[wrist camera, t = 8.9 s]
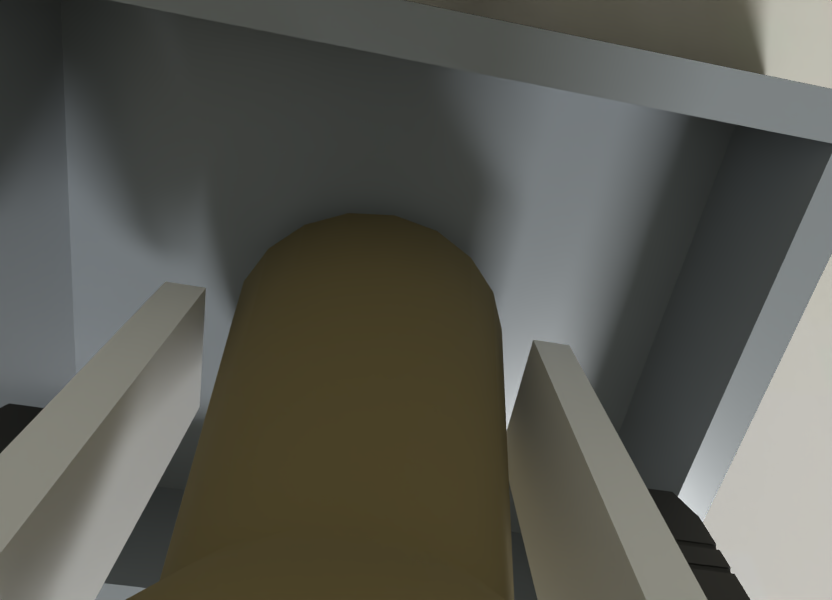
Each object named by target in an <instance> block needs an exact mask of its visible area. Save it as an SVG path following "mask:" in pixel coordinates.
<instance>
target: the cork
mask: <svg viewBox="0 0 832 600" xmlns="http://www.w3.org/2000/svg"><path fill="white" fill-rule="evenodd" d="M126 600H514V583H513V561H512V539H511V517H510V495H509V473H508V451H507V429H506V407H505V385H504V363H503V341H502V328H501V323H500V319H499V315H498V310H497V306H496V302H495V297H494V293H493V291H492V289H491V288H490V286H489V285H488V283H487V282H486V280H485V279H484V277H483V275H482V274H481V272H480V271H479V269H478V268H477V266H476V265H475V263H474V262H473V260H472V258H471V257H469V256H468V255H467V254H466V253H464V252H463V251H462V250H461V249H459V248H458V247H457V246H455V245H454V244H453V243H452V242H450V241H449V240H448V239H447V238H445V237H444V236H443V235H442V234H440V233H439V232H438V231H436V230H433V229H430V228H428V227H425V226H422V225H419V224H417V223H414V222H411V221H409V220H406V219H403V218H401V217H398V216H395V215H378V214H358V213H347V214H343V215H339V216H336V217H332V218H328V219H324V220H321V221H317V222H313V223H309V224H306V225H304V226H302V227H301V228H299V229H298V230H296V231H294V232H293V233H291V234H290V235H288V236H287V237H285V238H284V239H282V240H281V241H279V242H278V243H276V244H275V245H273V246H272V247H270V248H269V249H268V250H267V251H266V253H265V254H264V255H263V257H262V258H261V259H260V261H259V262H258V263H257V265H256V266H255V267H254V269H253V270H252V271H251V273H250V274H249V275H248V276H247V278H246V279H245V280H244V283H243V286H242V289H241V293H240V296H239V300H238V303H237V306H236V310H235V313H234V316H233V320H232V323H231V327H230V330H229V334H228V338H227V341H226V345H225V348H224V352H223V355H222V359H221V363H220V366H219V370H218V373H217V377H216V380H215V384H214V388H213V391H212V395H211V398H210V402H209V405H208V409H207V413H206V416H205V420H204V423H203V427H202V430H201V434H200V438H199V441H198V445H197V448H196V452H195V455H194V459H193V462H192V466H191V470H190V473H189V477H188V480H187V484H186V487H185V491H184V495H183V498H182V502H181V505H180V509H179V512H178V516H177V520H176V523H175V527H174V530H173V534H172V537H171V541H170V545H169V548H168V552H167V555H166V559H165V562H164V566H163V570H162V573H161V577H160V580H159V582H157V583H155V584H153V585H151V586H149V587H148V588H146V589H144V590H142V591H140V592H138V593H137V594H135V595H133V596H131V597H129V598H127V599H126Z"/></svg>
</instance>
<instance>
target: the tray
mask: <svg viewBox="0 0 832 600" xmlns="http://www.w3.org/2000/svg"><path fill="white" fill-rule="evenodd" d="M347 213H358V214H378V215H395V216H398V217H401V218H403V219H406V220H409V221H411V222H414V223H417V224H419V225H422V226H425V227H428V228H430V229H433V230H436V231H438V232H439V233H440V234H442V235H443V236H444V237H445V238H447V239H448V240H449V241H450V242H452V243H453V244H454V245H455V246H457V247H458V248H459V249H461V250H462V251H463V252H464V253H466V254H467V255H468V256H469V257H471V258H472V260H473V262H474V263H475V265H476V266H477V268H478V269H479V271H480V272H481V274H482V275H483V277H484V279H485V280H486V282H487V283H488V285H489V286H490V288H491V289H492V291H493V293H494V297H495V302H496V306H497V310H498V315H499V319H500V323H501V328H502V341H503V363H504V385H505V407H506V429H507V428H508V424H509V421H510V418H511V414H512V411H513V407H514V404H515V400H516V397H517V394H518V390H519V387H520V383H521V380H522V377H523V373H524V370H525V366H526V363H527V359H528V356H529V353H530V349H531V346H532V342H533V340H539V341H545V342H552V343H558V344H564V345H570V347H571V349H572V351H573V353H574V355H575V356H576V358H577V360H578V362H579V364H580V366H581V368H582V369H583V371H584V373H585V375H586V377H587V379H588V380H589V382H590V384H591V386H592V388H593V390H594V392H595V393H596V395H597V397H598V399H599V401H600V403H601V404H602V406H603V408H604V410H605V412H606V414H607V415H608V417H609V419H610V421H611V423H612V425H613V427H614V428H615V430H616V432H617V434H618V436H619V438H620V439H621V441H622V443H623V445H624V447H625V449H626V450H627V452H628V454H629V456H630V458H631V460H632V462H633V463H634V465H635V467H636V469H637V471H638V473H639V474H640V476H641V478H642V480H643V482H644V484H645V486H646V487H647V488H648V489H655V490H662V491H670V492H673V493H674V494H675V495H676V496H677V497H678V498H680V499H681V500H682V501H683V502H684V503H685V504H686V505H687V506H688V507H689V508H690V509H691V510H692V511H693V512H694V513H695V514H697V515H698V516H699V518H700V519H701V521H702V522H703V521H704V519H705V517H706V515H707V513H708V511H709V509H710V506H711V504H712V502H713V500H714V498H715V496H716V494H717V492H718V490H719V488H720V486H721V484H722V481H723V479H724V477H725V475H726V473H727V471H728V469H729V467H730V465H731V463H732V461H733V459H734V456H735V454H736V452H737V450H738V448H739V446H740V444H741V442H742V440H743V438H744V436H745V433H746V431H747V429H748V427H749V425H750V423H751V421H752V419H753V417H754V415H755V413H756V411H757V408H758V406H759V404H760V402H761V400H762V398H763V396H764V394H765V392H766V390H767V388H768V386H769V383H770V381H771V379H772V377H773V375H774V373H775V371H776V369H777V367H778V365H779V363H780V361H781V358H782V356H783V354H784V352H785V350H786V348H787V346H788V344H789V342H790V340H791V338H792V336H793V333H794V331H795V329H796V327H797V325H798V323H799V321H800V319H801V317H802V315H803V313H804V310H805V308H806V306H807V304H808V302H809V300H810V298H811V296H812V294H813V292H814V290H815V288H816V285H817V283H818V281H819V279H820V277H821V275H822V273H823V271H824V269H825V267H826V265H827V263H828V260H829V258H830V256H831V254H832V89H830V88H825V87H820V86H816V85H811V84H806V83H801V82H796V81H791V80H787V79H782V78H777V77H772V76H767V75H762V74H758V73H753V72H748V71H743V70H738V69H733V68H729V67H724V66H719V65H714V64H709V63H704V62H700V61H695V60H690V59H685V58H680V57H676V56H671V55H666V54H661V53H656V52H651V51H647V50H642V49H637V48H632V47H627V46H622V45H618V44H613V43H608V42H603V41H598V40H593V39H589V38H584V37H579V36H574V35H569V34H564V33H560V32H555V31H550V30H545V29H540V28H536V27H531V26H526V25H521V24H516V23H511V22H507V21H502V20H497V19H492V18H487V17H482V16H478V15H473V14H468V13H463V12H458V11H453V10H449V9H444V8H439V7H434V6H429V5H424V4H420V3H415V2H410V1H405V0H0V408H1V407H3V406H5V405H7V404H9V403H11V404H18V405H25V406H33V407H40V408H45V407H46V406H47V404H48V403H49V402H50V401H51V400H52V399H53V398H54V397H55V396H56V395H57V394H58V393H59V392H60V391H61V390H62V389H63V388H64V387H65V386H66V385H67V384H68V383H69V382H70V380H71V379H72V378H73V377H74V376H75V375H76V374H77V373H78V372H79V371H80V370H81V369H82V368H83V367H84V366H85V365H86V364H87V363H88V362H89V361H90V360H91V359H92V358H93V357H94V355H95V354H96V353H97V352H98V351H99V350H100V349H101V348H102V347H103V346H104V345H105V344H106V343H107V342H108V341H109V340H110V339H111V338H112V337H113V336H114V335H115V334H116V333H117V331H118V330H119V329H120V328H121V327H122V326H123V325H124V324H125V323H126V322H127V321H128V320H129V319H130V318H131V317H132V316H133V315H134V314H135V313H136V312H137V311H138V310H139V309H140V308H141V306H142V305H143V304H144V303H145V302H146V301H147V300H148V299H149V298H150V297H151V296H152V295H153V294H154V293H155V292H156V291H157V290H158V289H159V288H160V287H161V286H162V285H163V284H164V283H165V281H166V282H172V283H178V284H185V285H191V286H197V287H204V288H206V296H205V315H204V334H203V352H202V371H201V390H200V407H199V409H198V411H197V413H196V415H195V416H194V418H193V420H192V422H191V424H190V426H189V427H188V429H187V431H186V433H185V435H184V437H183V438H182V440H181V442H180V444H179V446H178V448H177V450H176V451H175V453H174V455H173V457H172V459H171V461H170V462H169V464H168V466H167V468H166V470H165V472H164V473H163V475H162V477H161V479H160V481H159V483H158V484H157V486H156V488H155V490H154V492H153V494H152V496H151V497H150V499H149V501H148V503H147V505H146V507H145V508H144V510H143V512H142V514H141V516H140V518H139V519H138V521H137V523H136V525H135V527H134V529H133V531H132V532H131V534H130V536H129V538H128V540H127V542H126V543H125V545H124V547H123V549H122V551H121V553H120V554H119V556H118V558H117V560H116V562H115V564H114V565H113V567H112V569H111V571H110V573H109V575H108V577H107V578H106V580H105V582H104V584H103V586H102V588H101V589H100V591H99V593H98V595H97V597H96V599H95V600H126V599H127V598H129V597H131V596H133V595H135V594H137V593H138V592H140V591H142V590H144V589H146V588H148V587H149V586H151V585H153V584H155V583H157V582H159V580H160V577H161V573H162V570H163V566H164V562H165V559H166V555H167V552H168V548H169V545H170V541H171V537H172V534H173V530H174V527H175V523H176V520H177V516H178V512H179V509H180V505H181V502H182V498H183V495H184V491H185V487H186V484H187V480H188V477H189V473H190V470H191V466H192V462H193V459H194V455H195V452H196V448H197V445H198V441H199V438H200V434H201V430H202V427H203V423H204V420H205V416H206V413H207V409H208V405H209V402H210V398H211V395H212V391H213V388H214V384H215V380H216V377H217V373H218V370H219V366H220V363H221V359H222V355H223V352H224V348H225V345H226V341H227V338H228V334H229V330H230V327H231V323H232V320H233V316H234V313H235V310H236V306H237V303H238V300H239V296H240V293H241V289H242V286H243V283H244V280H245V279H246V278H247V276H248V275H249V274H250V273H251V271H252V270H253V269H254V267H255V266H256V265H257V263H258V262H259V261H260V259H261V258H262V257H263V255H264V254H265V253H266V251H267V250H268V249H269V248H270V247H272V246H273V245H275V244H276V243H278V242H279V241H281V240H282V239H284V238H285V237H287V236H288V235H290V234H291V233H293V232H294V231H296V230H298V229H299V228H301V227H302V226H304V225H306V224H309V223H313V222H317V221H321V220H324V219H328V218H332V217H336V216H339V215H343V214H347ZM509 495H510V517H511V539H512V561H513V583H514V600H537V595H536V591H535V587H534V583H533V579H532V575H531V571H530V566H529V562H528V558H527V554H526V550H525V546H524V542H523V537H522V533H521V529H520V525H519V521H518V517H517V513H516V508H515V504H514V500H513V496H512V492H511V488H510V484H509Z"/></svg>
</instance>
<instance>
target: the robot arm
mask: <svg viewBox="0 0 832 600" xmlns="http://www.w3.org/2000/svg"><path fill="white" fill-rule="evenodd" d="M205 296H206V288H204V287H197V286H191V285H185V284H178V283H172V282H166V281H165V283H164V284H163V285H162V286H161V287H160V288H159V289H158V290H157V291H156V292H155V293H154V294H153V295H152V296H151V297H150V298H149V299H148V300H147V301H146V302H145V303H144V304H143V305H142V306H141V308H140V309H139V310H138V311H137V312H136V313H135V314H134V315H133V316H132V317H131V318H130V319H129V320H128V321H127V322H126V323H125V324H124V325H123V326H122V327H121V328H120V329H119V330H118V331H117V333H116V334H115V335H114V336H113V337H112V338H111V339H110V340H109V341H108V342H107V343H106V344H105V345H104V346H103V347H102V348H101V349H100V350H99V351H98V352H97V353H96V354H95V355H94V357H93V358H92V359H91V360H90V361H89V362H88V363H87V364H86V365H85V366H84V367H83V368H82V369H81V370H80V371H79V372H78V373H77V374H76V375H75V376H74V377H73V378H72V379H71V380H70V382H69V383H68V384H67V385H66V386H65V387H64V388H63V389H62V390H61V391H60V392H59V393H58V394H57V395H56V396H55V397H54V398H53V399H52V400H51V401H50V402H49V403H48V404H47V406H46V407H45V408H40V407H33V406H25V405H18V404H11V403H9V404H7V405H5V406H3V407H1V408H0V600H95V599H96V597H97V595H98V593H99V591H100V589H101V588H102V586H103V584H104V582H105V580H106V578H107V577H108V575H109V573H110V571H111V569H112V567H113V565H114V564H115V562H116V560H117V558H118V556H119V554H120V553H121V551H122V549H123V547H124V545H125V543H126V542H127V540H128V538H129V536H130V534H131V532H132V531H133V529H134V527H135V525H136V523H137V521H138V519H139V518H140V516H141V514H142V512H143V510H144V508H145V507H146V505H147V503H148V501H149V499H150V497H151V496H152V494H153V492H154V490H155V488H156V486H157V484H158V483H159V481H160V479H161V477H162V475H163V473H164V472H165V470H166V468H167V466H168V464H169V462H170V461H171V459H172V457H173V455H174V453H175V451H176V450H177V448H178V446H179V444H180V442H181V440H182V438H183V437H184V435H185V433H186V431H187V429H188V427H189V426H190V424H191V422H192V420H193V418H194V416H195V415H196V413H197V411H198V409H199V407H200V390H201V371H202V352H203V334H204V315H205ZM507 451H508V473H509V484H510V488H511V492H512V496H513V500H514V504H515V508H516V513H517V517H518V521H519V525H520V529H521V533H522V537H523V542H524V546H525V550H526V554H527V558H528V562H529V566H530V571H531V575H532V579H533V583H534V587H535V591H536V595H537V600H750V598H749V597H748V595H747V594H746V592H745V590H744V589H743V587H742V585H741V584H740V582H739V581H738V579H737V577H736V576H735V574H731V572H730V566H729V564H728V563H727V561H726V560H725V558H724V556H723V555H722V553H721V552H720V550H716V543H715V542H714V540H713V539H712V537H711V535H710V534H709V532H708V530H707V529H706V527H705V526H704V524H703V522H702V521H701V519H700V518H699V516H698V515H697V514H695V513H694V512H693V511H692V510H691V509H690V508H689V507H688V506H687V505H686V504H685V503H684V502H683V501H682V500H681V499H680V498H678V497H677V496H676V495H675V494H674V493H673V492H670V491H662V490H655V489H648V488H647V487H646V486H645V484H644V482H643V480H642V478H641V476H640V474H639V473H638V471H637V469H636V467H635V465H634V463H633V462H632V460H631V458H630V456H629V454H628V452H627V450H626V449H625V447H624V445H623V443H622V441H621V439H620V438H619V436H618V434H617V432H616V430H615V428H614V427H613V425H612V423H611V421H610V419H609V417H608V415H607V414H606V412H605V410H604V408H603V406H602V404H601V403H600V401H599V399H598V397H597V395H596V393H595V392H594V390H593V388H592V386H591V384H590V382H589V380H588V379H587V377H586V375H585V373H584V371H583V369H582V368H581V366H580V364H579V362H578V360H577V358H576V356H575V355H574V353H573V351H572V349H571V347H570V345H564V344H558V343H552V342H545V341H539V340H533V342H532V346H531V349H530V353H529V356H528V359H527V363H526V366H525V370H524V373H523V377H522V380H521V383H520V387H519V390H518V394H517V397H516V400H515V404H514V407H513V411H512V414H511V418H510V421H509V424H508V428H507Z"/></svg>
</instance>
